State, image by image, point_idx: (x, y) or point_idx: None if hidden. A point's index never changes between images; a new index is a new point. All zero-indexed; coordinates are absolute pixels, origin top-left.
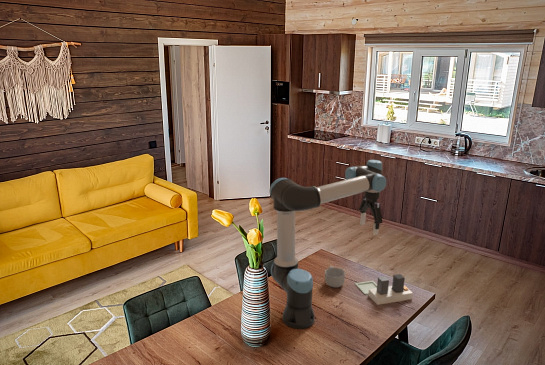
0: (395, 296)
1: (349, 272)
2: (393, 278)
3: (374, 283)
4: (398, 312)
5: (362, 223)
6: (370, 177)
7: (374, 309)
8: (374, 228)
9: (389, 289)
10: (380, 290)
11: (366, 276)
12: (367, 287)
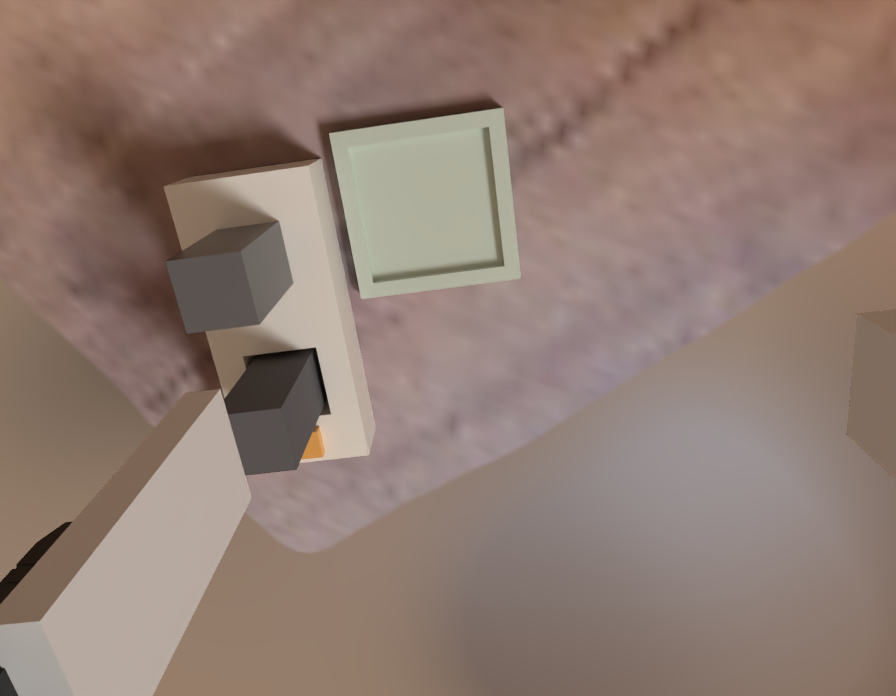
0: (210, 336)
1: (718, 133)
2: (282, 394)
3: (475, 272)
4: (105, 292)
5: (873, 376)
6: None
7: (135, 134)
8: (109, 499)
9: (297, 330)
10: (212, 236)
11: (617, 257)
12: (437, 196)
